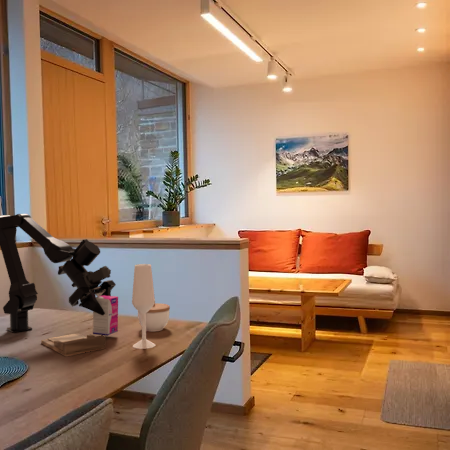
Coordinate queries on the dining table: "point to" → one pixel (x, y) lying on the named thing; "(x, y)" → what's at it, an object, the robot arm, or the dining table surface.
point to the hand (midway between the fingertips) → (109, 312)
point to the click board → (75, 344)
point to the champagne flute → (143, 299)
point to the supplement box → (106, 316)
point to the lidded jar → (156, 317)
